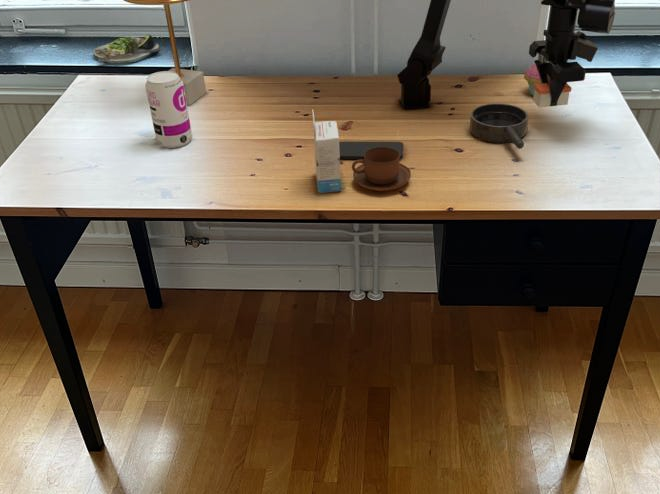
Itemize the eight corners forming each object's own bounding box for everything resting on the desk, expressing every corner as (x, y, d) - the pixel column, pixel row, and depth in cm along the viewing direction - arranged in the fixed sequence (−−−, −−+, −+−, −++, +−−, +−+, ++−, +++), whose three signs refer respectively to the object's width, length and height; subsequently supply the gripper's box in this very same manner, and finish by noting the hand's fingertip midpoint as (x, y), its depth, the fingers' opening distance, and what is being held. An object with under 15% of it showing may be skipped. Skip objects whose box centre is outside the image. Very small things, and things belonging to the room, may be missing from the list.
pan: (478, 146, 174) (480, 129, 171) (462, 122, 184) (463, 106, 181) (534, 140, 175) (536, 123, 173) (515, 117, 185) (517, 101, 182)
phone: (337, 141, 176) (403, 141, 174) (337, 144, 176) (403, 144, 175) (334, 156, 170) (402, 156, 169) (334, 159, 171) (402, 160, 169)
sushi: (537, 107, 175) (540, 90, 173) (531, 100, 178) (533, 83, 176) (568, 104, 176) (571, 87, 173) (562, 97, 179) (564, 80, 176)
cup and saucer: (367, 201, 157) (367, 173, 153) (344, 175, 165) (343, 148, 161) (420, 188, 160) (421, 160, 156) (395, 164, 168) (395, 137, 164)
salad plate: (117, 73, 214) (114, 56, 211) (78, 59, 223) (74, 43, 220) (171, 52, 225) (168, 36, 222) (131, 40, 234) (128, 24, 231)
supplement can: (198, 135, 182) (188, 72, 172) (181, 151, 176) (169, 85, 166) (168, 131, 184) (156, 68, 174) (150, 146, 178) (136, 82, 169)
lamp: (125, 107, 196) (84, -73, 169) (170, 77, 210) (138, -93, 184) (197, 118, 189) (166, -67, 163) (237, 87, 204) (215, -88, 177)
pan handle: (503, 132, 173) (504, 125, 172) (511, 132, 173) (512, 124, 172) (517, 150, 166) (517, 143, 165) (524, 149, 166) (525, 142, 165)
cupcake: (556, 100, 192) (563, 51, 184) (521, 99, 193) (527, 50, 185) (556, 87, 198) (563, 39, 190) (522, 85, 199) (528, 37, 192)
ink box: (341, 192, 160) (339, 123, 150) (317, 193, 159) (313, 125, 150) (338, 172, 166) (336, 106, 156) (315, 174, 166) (311, 107, 156)
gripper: (615, 38, 160) (601, 111, 170) (579, 11, 174) (569, 80, 184) (563, 43, 159) (552, 116, 169) (532, 15, 173) (524, 84, 183)
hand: (550, 98), depth 176 cm, fingers closed on sushi, 4 cm apart
